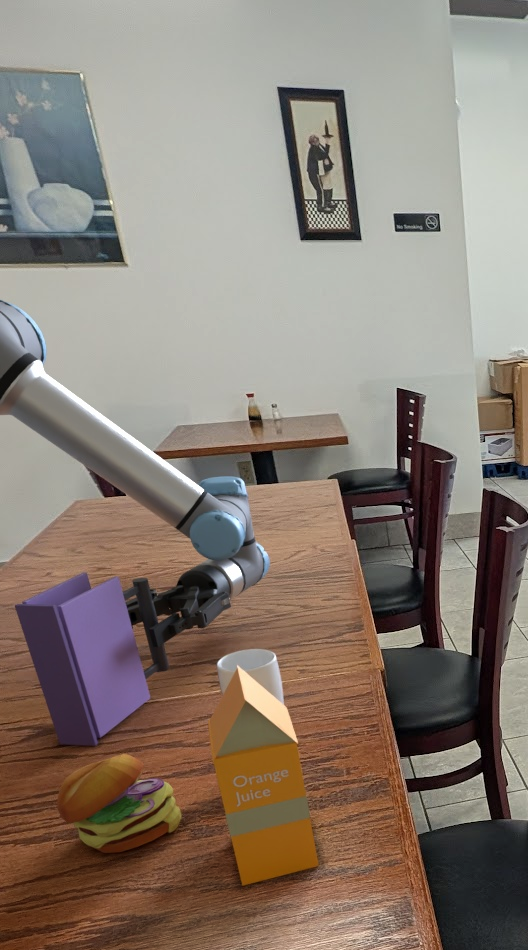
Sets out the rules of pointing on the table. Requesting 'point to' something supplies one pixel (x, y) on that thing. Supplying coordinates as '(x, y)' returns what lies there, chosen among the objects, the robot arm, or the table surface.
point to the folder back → (57, 660)
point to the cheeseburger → (117, 805)
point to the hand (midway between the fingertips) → (127, 637)
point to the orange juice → (261, 782)
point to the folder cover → (111, 650)
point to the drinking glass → (252, 670)
